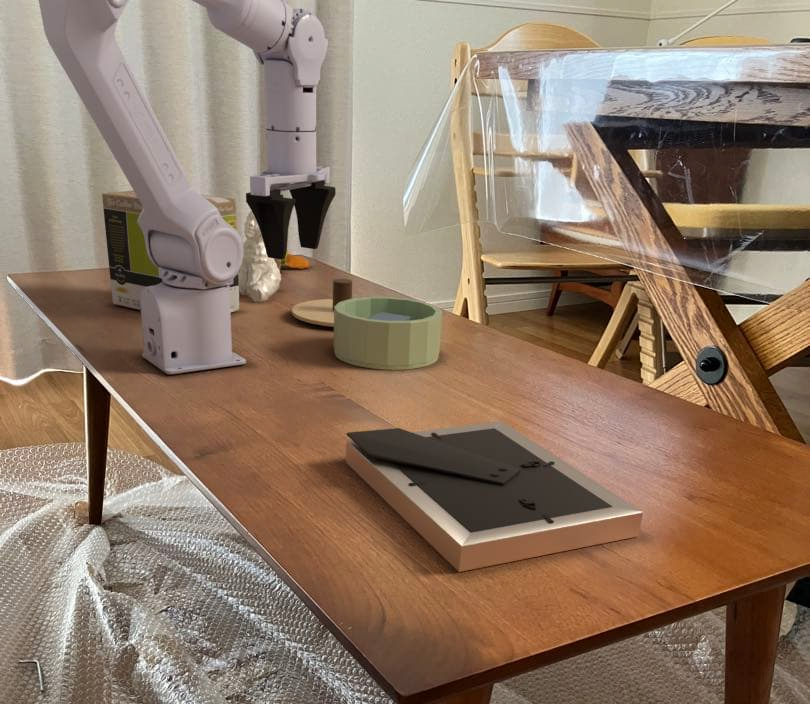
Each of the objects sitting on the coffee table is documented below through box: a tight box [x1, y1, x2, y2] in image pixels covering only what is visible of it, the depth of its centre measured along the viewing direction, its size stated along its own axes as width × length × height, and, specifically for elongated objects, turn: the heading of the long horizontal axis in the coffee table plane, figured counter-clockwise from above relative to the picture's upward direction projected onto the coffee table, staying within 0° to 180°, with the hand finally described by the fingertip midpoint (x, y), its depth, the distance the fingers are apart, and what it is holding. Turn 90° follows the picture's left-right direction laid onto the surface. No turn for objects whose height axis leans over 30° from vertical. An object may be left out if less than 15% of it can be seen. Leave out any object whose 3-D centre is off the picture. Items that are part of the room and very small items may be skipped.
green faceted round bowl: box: [333, 296, 443, 371], centre depth 109 cm, size 13×13×6 cm
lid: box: [291, 278, 353, 328], centre depth 124 cm, size 14×14×5 cm
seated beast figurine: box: [238, 210, 282, 303], centre depth 133 cm, size 10×9×12 cm
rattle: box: [274, 249, 310, 271], centre depth 149 cm, size 8×8×12 cm
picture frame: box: [345, 420, 644, 573], centre depth 74 cm, size 16×3×21 cm
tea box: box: [101, 189, 240, 313], centre depth 122 cm, size 15×10×15 cm
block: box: [366, 312, 410, 321], centre depth 109 cm, size 4×4×4 cm
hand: (293, 252), depth 110 cm, fingers open, 7 cm apart
